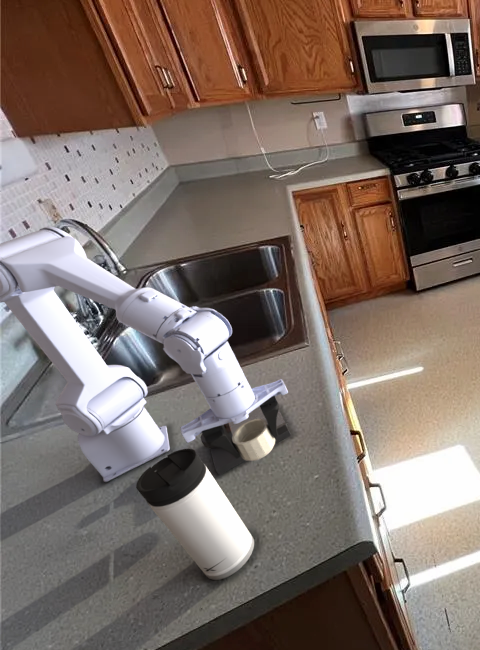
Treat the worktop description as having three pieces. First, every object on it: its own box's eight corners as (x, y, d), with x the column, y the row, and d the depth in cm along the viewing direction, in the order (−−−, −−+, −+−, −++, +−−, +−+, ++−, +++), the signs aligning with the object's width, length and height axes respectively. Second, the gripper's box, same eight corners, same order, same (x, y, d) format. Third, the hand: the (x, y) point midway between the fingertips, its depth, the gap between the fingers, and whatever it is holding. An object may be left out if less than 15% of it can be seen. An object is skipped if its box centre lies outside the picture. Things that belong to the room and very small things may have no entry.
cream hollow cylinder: (246, 468, 68) (235, 450, 66) (239, 449, 71) (229, 431, 69) (279, 449, 71) (270, 431, 68) (271, 431, 74) (262, 413, 72)
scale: (214, 478, 71) (207, 466, 70) (205, 441, 79) (198, 430, 77) (291, 435, 78) (285, 424, 77) (276, 405, 86) (271, 394, 84)
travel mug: (220, 591, 56) (146, 500, 46) (197, 565, 59) (123, 474, 49) (264, 548, 60) (205, 457, 51) (241, 526, 63) (181, 436, 54)
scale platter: (237, 450, 73) (236, 447, 72) (229, 424, 78) (228, 422, 78) (285, 424, 77) (284, 422, 77) (274, 401, 82) (273, 399, 82)
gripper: (169, 425, 57) (210, 487, 63) (280, 373, 65) (307, 432, 72) (165, 398, 62) (204, 458, 68) (269, 352, 70) (295, 410, 76)
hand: (256, 443), depth 70 cm, fingers closed on cream hollow cylinder, 5 cm apart
